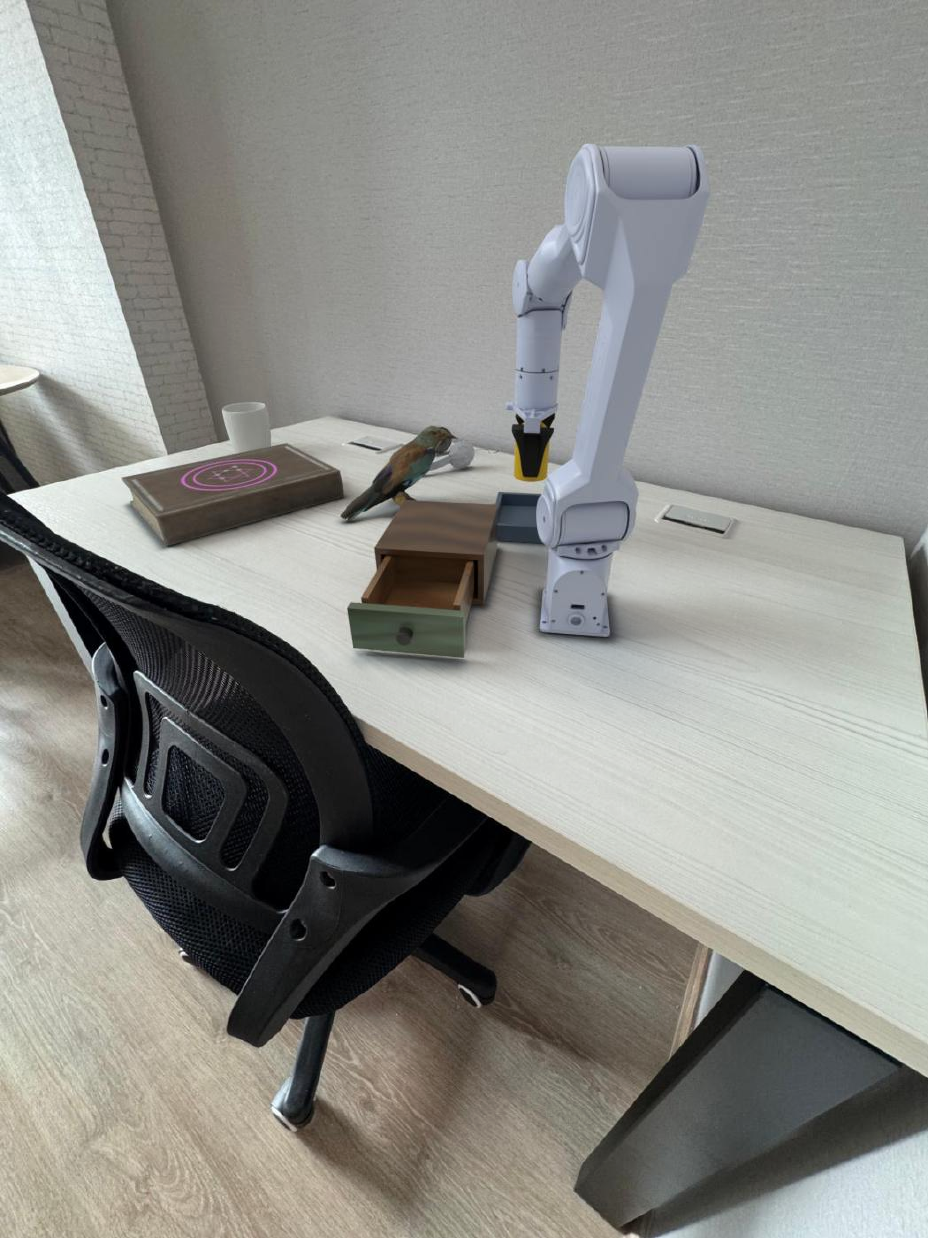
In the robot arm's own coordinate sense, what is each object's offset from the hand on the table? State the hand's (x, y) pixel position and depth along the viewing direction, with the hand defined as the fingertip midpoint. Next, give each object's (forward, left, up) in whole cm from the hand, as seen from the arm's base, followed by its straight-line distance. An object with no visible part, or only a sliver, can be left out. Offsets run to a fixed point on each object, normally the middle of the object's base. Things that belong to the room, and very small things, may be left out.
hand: (531, 469), depth 81 cm
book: (+7, +52, -11) cm, 54 cm away
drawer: (-26, +11, -10) cm, 30 cm away
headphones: (+31, +20, -11) cm, 39 cm away
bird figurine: (+7, +22, -11) cm, 26 cm away
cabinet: (-13, +11, -10) cm, 20 cm away
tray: (+4, -2, -10) cm, 12 cm away
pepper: (0, 0, -1) cm, 1 cm away
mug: (+34, +63, -11) cm, 73 cm away
